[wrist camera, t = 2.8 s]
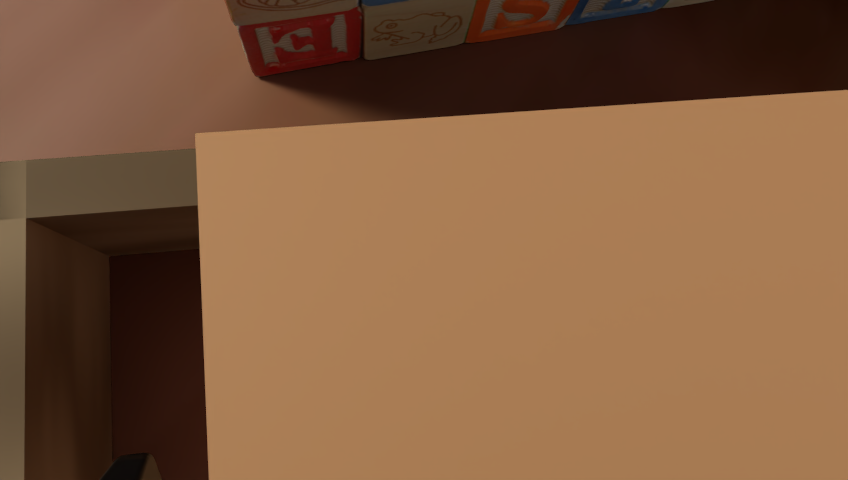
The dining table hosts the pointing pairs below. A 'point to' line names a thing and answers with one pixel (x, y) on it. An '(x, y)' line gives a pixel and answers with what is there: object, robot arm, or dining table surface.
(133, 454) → the robot arm
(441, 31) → the printed cardboard box
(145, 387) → the dining table surface
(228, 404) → the tan block
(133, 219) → the beige u-shaped block
